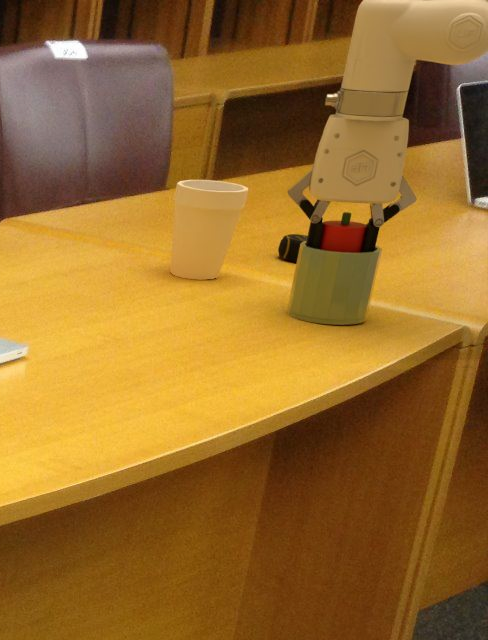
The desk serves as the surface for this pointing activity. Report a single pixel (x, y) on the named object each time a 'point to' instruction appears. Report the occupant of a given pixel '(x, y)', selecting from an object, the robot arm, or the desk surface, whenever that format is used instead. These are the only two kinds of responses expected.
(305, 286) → the ceramic cup
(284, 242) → the tape measure
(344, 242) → the pepper
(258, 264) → the desk surface
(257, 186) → the desk surface
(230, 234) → the foam cup
